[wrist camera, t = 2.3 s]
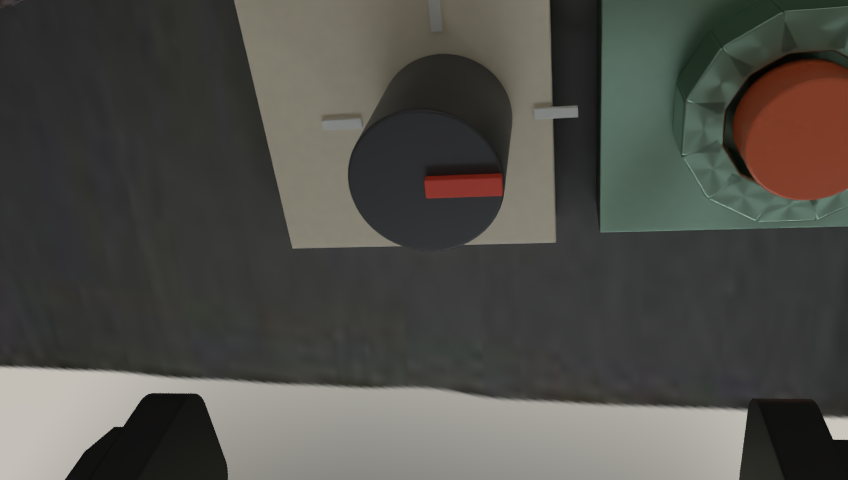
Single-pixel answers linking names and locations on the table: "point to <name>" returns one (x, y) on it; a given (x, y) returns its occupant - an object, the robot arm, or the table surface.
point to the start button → (796, 129)
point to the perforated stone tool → (8, 3)
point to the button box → (698, 110)
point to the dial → (434, 154)
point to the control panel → (364, 87)
